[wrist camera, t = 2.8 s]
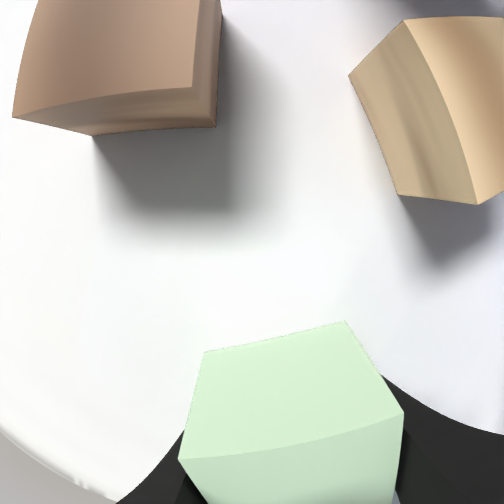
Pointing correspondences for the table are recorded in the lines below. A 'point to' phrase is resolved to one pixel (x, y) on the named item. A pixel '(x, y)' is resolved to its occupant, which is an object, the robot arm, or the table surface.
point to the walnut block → (121, 65)
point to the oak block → (439, 106)
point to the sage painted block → (293, 423)
